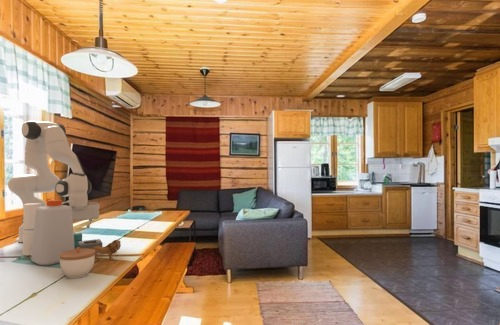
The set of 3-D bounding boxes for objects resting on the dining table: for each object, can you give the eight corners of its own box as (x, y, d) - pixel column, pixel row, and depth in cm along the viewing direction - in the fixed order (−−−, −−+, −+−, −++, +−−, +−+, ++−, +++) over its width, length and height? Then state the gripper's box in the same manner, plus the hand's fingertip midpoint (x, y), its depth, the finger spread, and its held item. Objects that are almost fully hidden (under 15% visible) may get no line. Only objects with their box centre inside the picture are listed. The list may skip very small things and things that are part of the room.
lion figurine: (120, 256, 148) (120, 238, 148) (121, 259, 143) (121, 240, 143) (85, 260, 141) (86, 241, 141) (85, 264, 136) (85, 244, 136)
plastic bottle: (78, 259, 144) (79, 199, 144) (42, 267, 131) (43, 202, 132) (63, 253, 152) (64, 198, 153) (27, 261, 140) (29, 200, 140)
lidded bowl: (87, 267, 131) (87, 242, 131) (100, 274, 123) (100, 247, 123) (54, 275, 121) (54, 248, 122) (66, 283, 113) (66, 253, 114)
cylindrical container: (31, 256, 148) (31, 204, 148) (18, 255, 149) (19, 204, 150) (43, 252, 155) (44, 203, 155) (32, 251, 156) (32, 202, 157)
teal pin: (72, 248, 163) (73, 233, 163) (81, 247, 165) (81, 232, 165) (73, 249, 159) (73, 234, 160) (81, 248, 162) (82, 233, 162)
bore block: (78, 251, 157) (78, 241, 157) (99, 248, 163) (99, 239, 163) (79, 255, 149) (80, 245, 149) (102, 252, 154) (102, 242, 155)
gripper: (99, 201, 171) (98, 226, 170) (56, 203, 160) (55, 230, 159) (100, 202, 166) (100, 227, 165) (56, 204, 154) (55, 231, 154)
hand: (78, 228), depth 162 cm, fingers open, 8 cm apart
